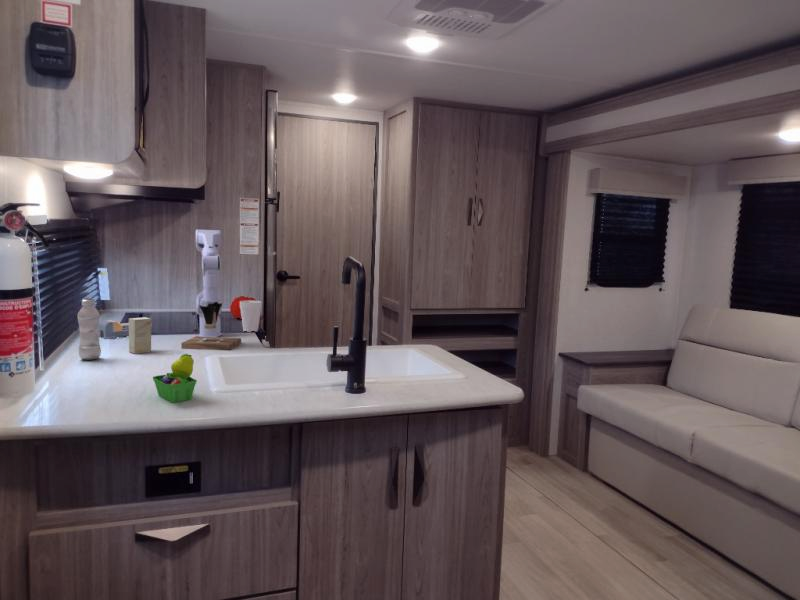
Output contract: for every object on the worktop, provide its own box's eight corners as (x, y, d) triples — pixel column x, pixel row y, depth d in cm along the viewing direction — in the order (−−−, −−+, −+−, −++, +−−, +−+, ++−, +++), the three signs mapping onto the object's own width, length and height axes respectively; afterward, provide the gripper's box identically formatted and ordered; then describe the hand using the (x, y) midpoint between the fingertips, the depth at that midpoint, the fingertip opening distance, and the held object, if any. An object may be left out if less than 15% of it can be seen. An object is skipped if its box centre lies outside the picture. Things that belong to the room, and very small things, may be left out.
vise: (107, 340, 220) (107, 323, 219) (96, 336, 226) (95, 320, 226) (152, 335, 234) (152, 319, 233) (140, 331, 240) (140, 316, 240)
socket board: (196, 341, 223) (196, 335, 223) (241, 343, 223) (241, 337, 223) (181, 348, 210) (181, 342, 209) (229, 350, 209) (229, 344, 209)
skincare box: (134, 354, 197) (134, 319, 196) (128, 352, 200) (127, 318, 198) (152, 351, 202) (151, 318, 201) (145, 349, 205) (145, 316, 203)
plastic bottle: (91, 362, 183) (90, 301, 181) (73, 360, 185) (71, 299, 182) (105, 358, 190) (104, 299, 187) (88, 356, 191) (86, 297, 189)
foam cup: (239, 329, 254) (239, 300, 253) (260, 328, 257) (260, 300, 255) (240, 332, 245) (240, 303, 244) (261, 332, 248) (262, 303, 246)
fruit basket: (151, 395, 150) (150, 353, 149) (184, 389, 156) (183, 349, 155) (169, 405, 142) (168, 361, 141) (202, 399, 148) (202, 356, 147)
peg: (207, 327, 217) (207, 311, 216) (217, 327, 216) (217, 311, 216) (202, 328, 213) (202, 312, 212) (213, 328, 212) (212, 313, 212)
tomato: (262, 320, 281) (262, 297, 280) (233, 321, 274) (233, 297, 272) (254, 316, 292) (255, 294, 291) (227, 317, 285) (227, 294, 284)
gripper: (207, 285, 220) (207, 319, 222) (193, 288, 206) (193, 325, 207) (225, 286, 220) (225, 320, 221) (212, 289, 205) (212, 326, 207)
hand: (211, 323), depth 214 cm, fingers closed on peg, 4 cm apart
